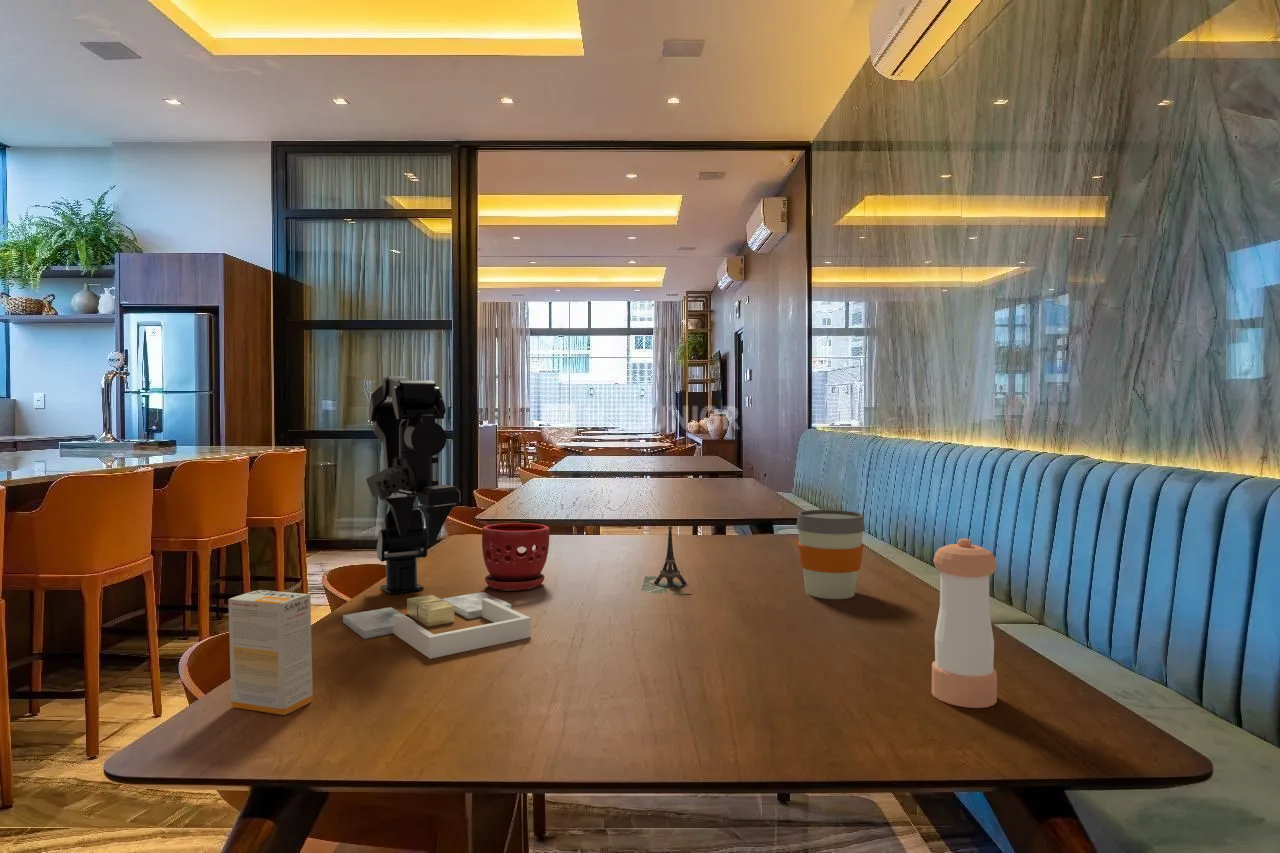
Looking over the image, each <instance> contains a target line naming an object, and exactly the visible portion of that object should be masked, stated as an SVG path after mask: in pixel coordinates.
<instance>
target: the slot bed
mask: <svg viewBox="0 0 1280 853" xmlns="http://www.w3.org/2000/svg"><path fill="white" fill-rule="evenodd" d="M485 598H488V599H490V600H493V601H495V602H497V603H499V604H501V605H504V606H506V607H508V608H510V609H512V604H511V603H509V602H507V601H505V600H503V599H500V598H498V597H496V596H493V595H491V594H489V593H487V592H484V591H480V592H476V593H475V592H474V593H468V594H463V595H458V596H457V595H455V596H450V597H444V598H441V599H442V600H443V601H446V602H448V603H449V604H451V605H453V606H454V614H457V615H459V616H461V617H462V618H465V619H467V620H472V619H477V618H483V617H482V599H485ZM397 613H400V614H402V615H403V616H405V617H406V618H408V619H410V620H411V621H413V622H415V623H416V621H415V620H413V619H411V617H408V616H406V615H405V614H404V613H402V612H400V611H398V610H397V609H395V608H393V607H383V608H378V609H372V610H367V611H360V612H354V613H349V614H343V615H342V622H343V624H344V625H346V627H348V628H350V629H351V630H352V631H353V632H355V633H356V634H357V635H359V636H360V637H361V638H362V639H370V638H376V637H381V636H386V635H392V634H394V633H393V614H397Z"/></svg>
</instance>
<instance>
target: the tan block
mask: <svg viewBox="0 0 1280 853" xmlns="http://www.w3.org/2000/svg"><path fill="white" fill-rule="evenodd" d="M442 599H443V598H440V597H437V596H436V595H433V594H430V595H422V596H417V597H409V598H406V615H408V616H410V617H411V618H413V619H415V620H416V621H419V620H418V605H420V604H426V603H432V602H438V601H443V600H442Z"/></svg>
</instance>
